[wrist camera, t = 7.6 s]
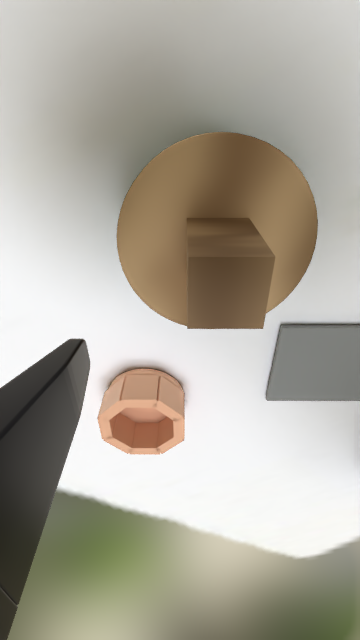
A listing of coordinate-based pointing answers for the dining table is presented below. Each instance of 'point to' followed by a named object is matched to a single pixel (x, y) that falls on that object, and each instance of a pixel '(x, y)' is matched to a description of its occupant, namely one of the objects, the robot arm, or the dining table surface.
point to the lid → (217, 231)
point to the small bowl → (143, 412)
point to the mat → (316, 364)
